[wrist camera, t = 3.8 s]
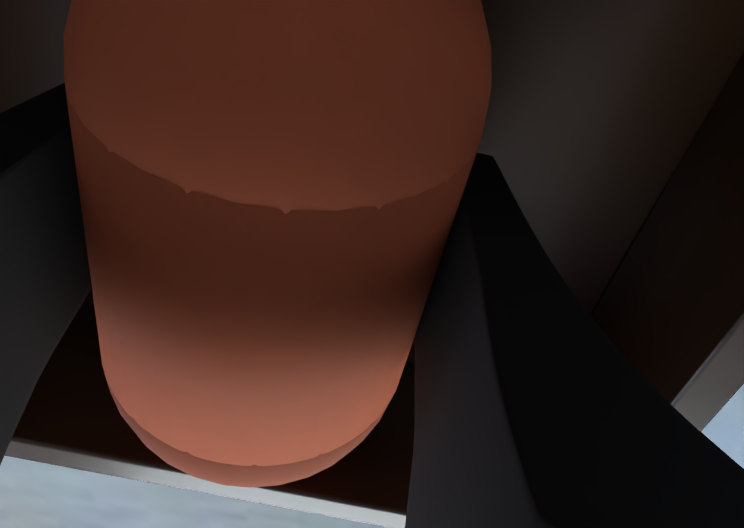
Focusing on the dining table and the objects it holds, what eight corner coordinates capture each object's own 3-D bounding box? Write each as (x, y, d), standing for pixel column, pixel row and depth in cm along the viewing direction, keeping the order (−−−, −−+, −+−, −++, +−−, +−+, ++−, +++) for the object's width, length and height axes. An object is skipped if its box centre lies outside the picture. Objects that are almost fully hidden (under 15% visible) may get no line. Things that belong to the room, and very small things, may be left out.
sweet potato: (388, 343, 15) (362, 568, 11) (163, 299, 15) (65, 514, 11) (537, -151, 9) (584, 10, 5) (144, -243, 8) (-98, -143, 5)
